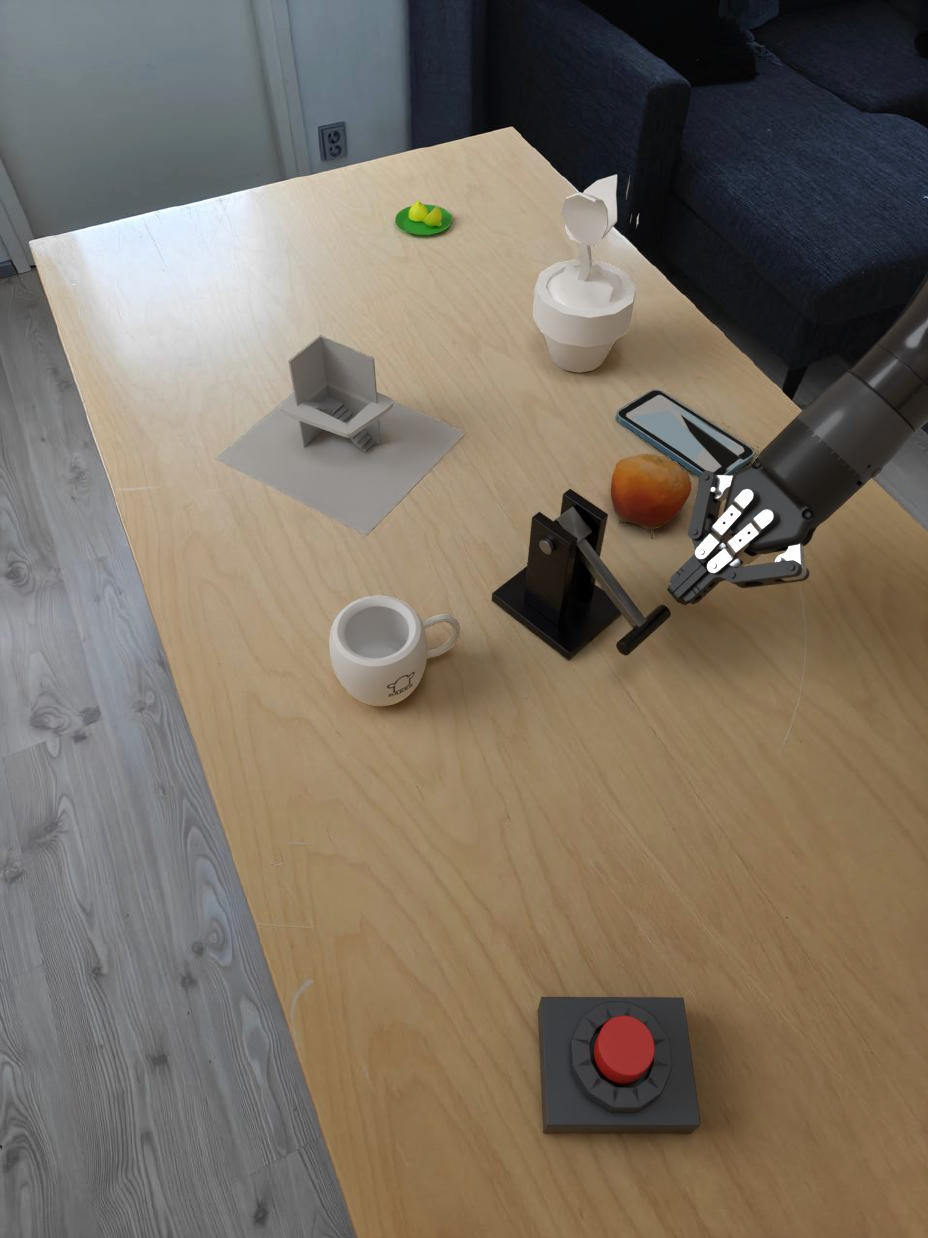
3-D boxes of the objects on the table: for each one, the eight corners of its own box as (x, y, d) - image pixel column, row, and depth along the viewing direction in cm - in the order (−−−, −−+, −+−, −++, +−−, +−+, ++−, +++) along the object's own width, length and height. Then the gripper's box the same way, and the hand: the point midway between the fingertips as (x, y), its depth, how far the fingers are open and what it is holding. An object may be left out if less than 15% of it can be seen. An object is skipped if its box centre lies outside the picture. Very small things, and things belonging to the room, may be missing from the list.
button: (645, 1025, 62) (651, 1015, 60) (651, 1084, 60) (658, 1076, 58) (591, 1025, 62) (596, 1015, 60) (596, 1084, 60) (601, 1075, 58)
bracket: (623, 613, 89) (645, 521, 79) (568, 661, 86) (584, 572, 76) (546, 557, 93) (557, 463, 83) (491, 600, 90) (495, 508, 80)
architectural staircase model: (365, 536, 95) (356, 451, 86) (214, 458, 102) (190, 372, 92) (466, 432, 105) (467, 346, 95) (322, 367, 111) (310, 281, 102)
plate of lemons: (461, 215, 132) (461, 196, 130) (437, 244, 128) (437, 224, 125) (410, 203, 134) (410, 184, 132) (385, 230, 130) (384, 211, 127)
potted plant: (600, 400, 108) (633, 192, 88) (512, 368, 111) (525, 161, 92) (643, 343, 115) (683, 137, 95) (558, 314, 118) (580, 110, 98)
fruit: (592, 530, 94) (613, 453, 91) (606, 513, 101) (625, 441, 98) (670, 552, 92) (694, 475, 89) (678, 533, 99) (700, 461, 96)
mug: (355, 733, 81) (346, 684, 75) (322, 660, 86) (312, 608, 79) (479, 685, 84) (481, 634, 78) (441, 617, 89) (440, 564, 82)
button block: (675, 1009, 67) (688, 990, 63) (691, 1134, 62) (707, 1121, 58) (537, 1008, 67) (542, 989, 63) (543, 1133, 62) (549, 1121, 58)
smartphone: (656, 386, 108) (759, 451, 101) (655, 393, 109) (756, 458, 102) (612, 413, 105) (715, 482, 98) (611, 420, 106) (713, 488, 99)
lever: (662, 620, 84) (677, 613, 81) (620, 658, 81) (634, 652, 79) (574, 504, 83) (587, 494, 81) (529, 539, 81) (541, 530, 78)
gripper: (763, 380, 73) (612, 536, 80) (879, 486, 66) (703, 648, 73) (796, 412, 79) (652, 555, 85) (906, 513, 72) (741, 661, 78)
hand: (676, 598), depth 79 cm, fingers closed
